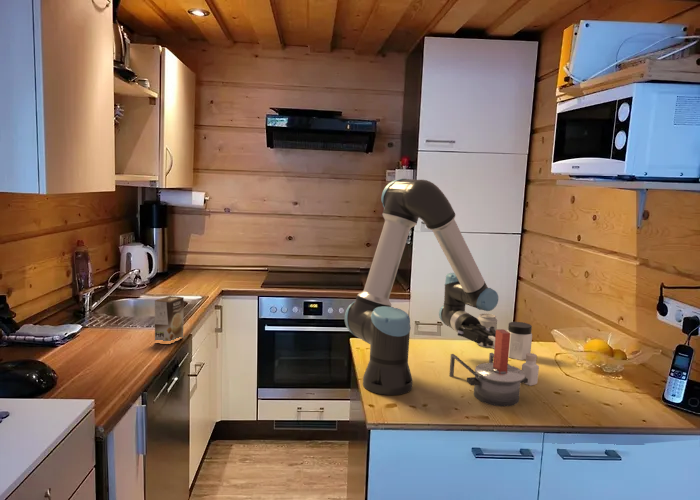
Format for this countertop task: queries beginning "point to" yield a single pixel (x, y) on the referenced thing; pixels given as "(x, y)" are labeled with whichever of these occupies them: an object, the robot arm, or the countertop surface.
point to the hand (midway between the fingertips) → (500, 346)
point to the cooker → (491, 386)
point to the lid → (500, 362)
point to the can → (487, 323)
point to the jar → (519, 340)
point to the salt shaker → (531, 369)
